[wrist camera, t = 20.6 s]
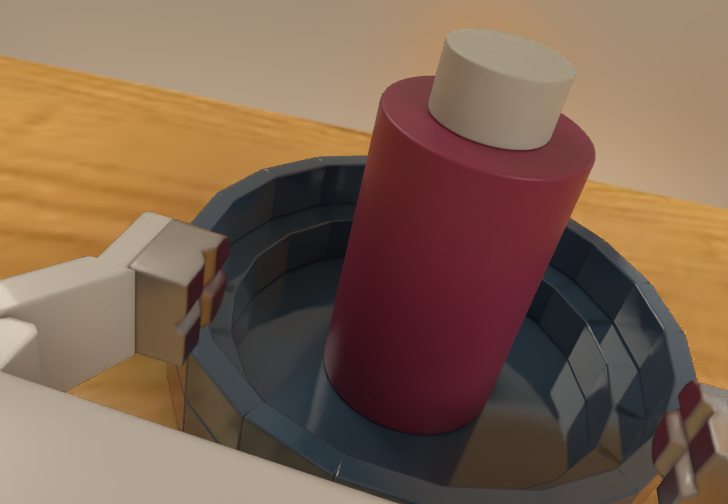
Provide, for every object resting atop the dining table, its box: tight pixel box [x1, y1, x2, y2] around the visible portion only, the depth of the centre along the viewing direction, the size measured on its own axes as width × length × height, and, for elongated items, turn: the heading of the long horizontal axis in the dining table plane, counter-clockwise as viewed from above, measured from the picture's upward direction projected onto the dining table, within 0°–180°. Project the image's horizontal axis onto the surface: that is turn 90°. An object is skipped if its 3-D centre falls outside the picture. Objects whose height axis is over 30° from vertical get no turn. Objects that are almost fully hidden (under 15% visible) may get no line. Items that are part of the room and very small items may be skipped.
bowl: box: [167, 156, 697, 504], centre depth 21 cm, size 15×15×4 cm
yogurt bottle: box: [324, 28, 595, 435], centre depth 19 cm, size 6×6×11 cm
